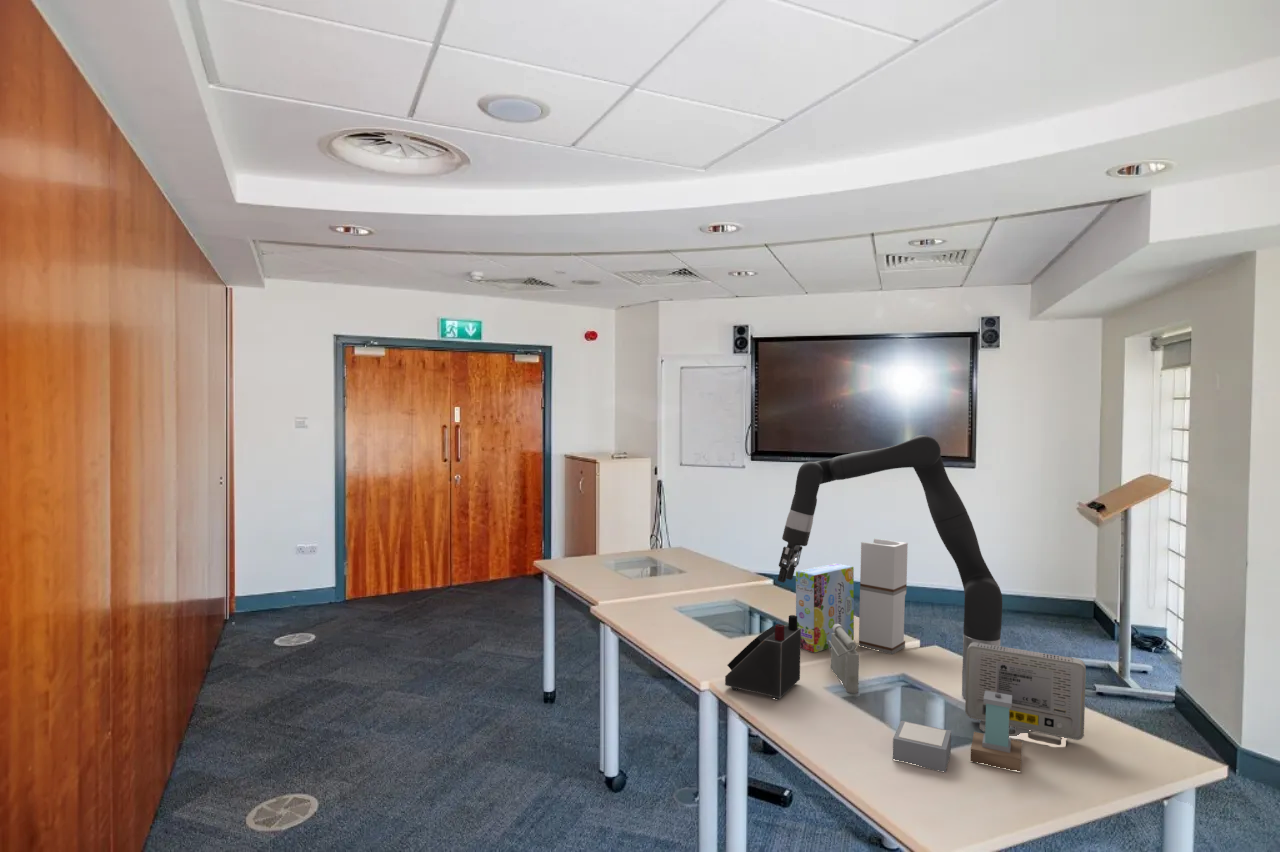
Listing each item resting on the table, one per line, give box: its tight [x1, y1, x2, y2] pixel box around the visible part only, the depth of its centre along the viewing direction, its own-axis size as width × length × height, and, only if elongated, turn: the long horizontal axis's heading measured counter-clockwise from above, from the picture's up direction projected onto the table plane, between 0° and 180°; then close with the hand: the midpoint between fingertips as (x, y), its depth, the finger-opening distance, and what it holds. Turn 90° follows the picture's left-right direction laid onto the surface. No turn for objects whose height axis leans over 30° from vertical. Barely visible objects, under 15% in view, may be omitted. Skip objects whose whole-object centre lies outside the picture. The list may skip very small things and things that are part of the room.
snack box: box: [795, 562, 855, 653], centre depth 245 cm, size 22×9×26 cm, turn 128°
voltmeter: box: [724, 614, 801, 700], centre depth 205 cm, size 16×16×20 cm
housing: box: [982, 691, 1012, 753], centre depth 165 cm, size 6×6×12 cm
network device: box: [964, 642, 1087, 741], centre depth 178 cm, size 26×9×20 cm, turn 59°
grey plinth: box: [892, 720, 952, 773], centre depth 165 cm, size 11×11×5 cm
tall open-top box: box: [858, 538, 909, 655], centre depth 243 cm, size 11×11×35 cm
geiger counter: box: [828, 624, 860, 694], centre depth 215 cm, size 14×6×25 cm
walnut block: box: [970, 731, 1023, 771], centre depth 165 cm, size 10×10×3 cm
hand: (784, 580), depth 216 cm, fingers open, 8 cm apart
